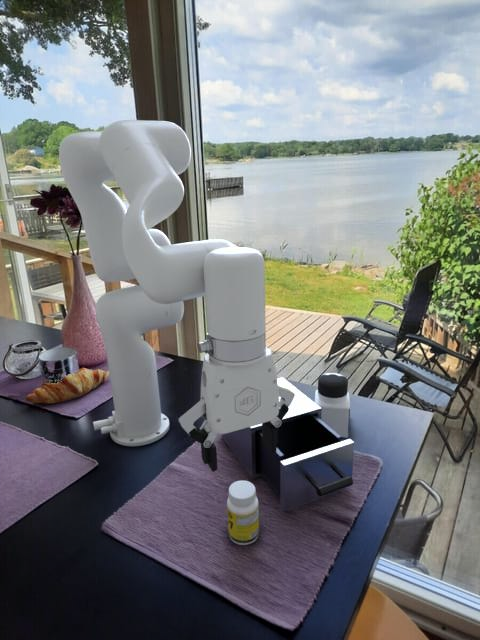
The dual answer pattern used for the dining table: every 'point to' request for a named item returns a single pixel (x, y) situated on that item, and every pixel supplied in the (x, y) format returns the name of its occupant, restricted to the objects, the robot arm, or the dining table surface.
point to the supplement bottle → (243, 513)
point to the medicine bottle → (334, 402)
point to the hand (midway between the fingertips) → (241, 455)
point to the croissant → (68, 386)
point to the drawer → (305, 461)
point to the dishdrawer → (245, 438)
